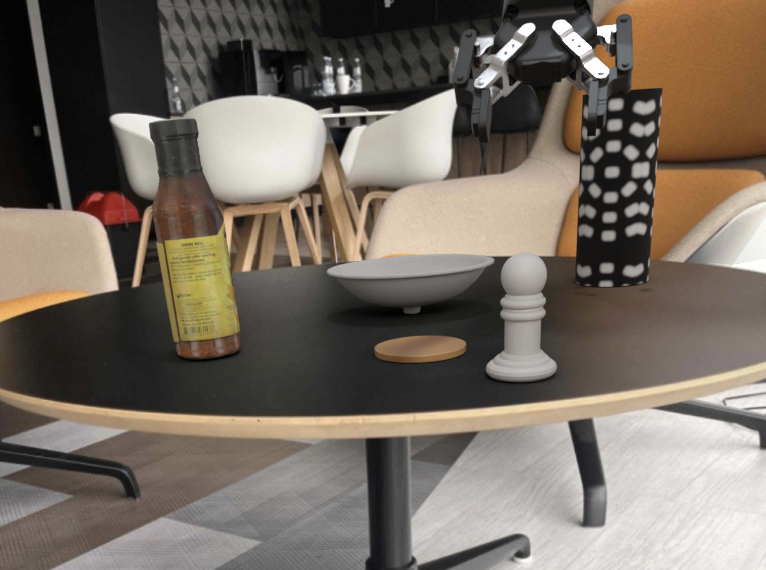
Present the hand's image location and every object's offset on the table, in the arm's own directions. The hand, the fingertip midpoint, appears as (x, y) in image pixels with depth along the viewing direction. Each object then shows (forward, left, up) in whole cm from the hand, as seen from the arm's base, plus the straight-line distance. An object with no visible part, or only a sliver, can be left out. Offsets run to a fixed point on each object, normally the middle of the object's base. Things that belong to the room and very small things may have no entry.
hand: (536, 132), depth 70 cm
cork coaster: (+9, +4, -17) cm, 20 cm away
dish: (+15, -14, -17) cm, 27 cm away
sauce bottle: (+29, +6, -17) cm, 34 cm away
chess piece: (-1, +11, -17) cm, 20 cm away
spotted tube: (-4, -33, -17) cm, 37 cm away
